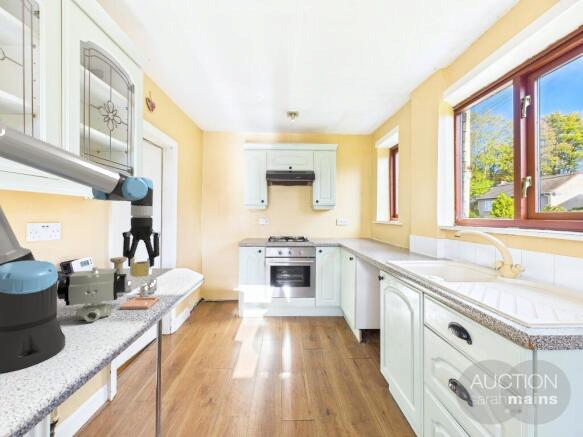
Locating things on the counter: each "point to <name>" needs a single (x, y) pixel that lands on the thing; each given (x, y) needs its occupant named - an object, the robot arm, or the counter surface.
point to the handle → (118, 262)
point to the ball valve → (92, 291)
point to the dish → (140, 303)
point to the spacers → (143, 288)
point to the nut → (139, 269)
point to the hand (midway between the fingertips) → (141, 274)
